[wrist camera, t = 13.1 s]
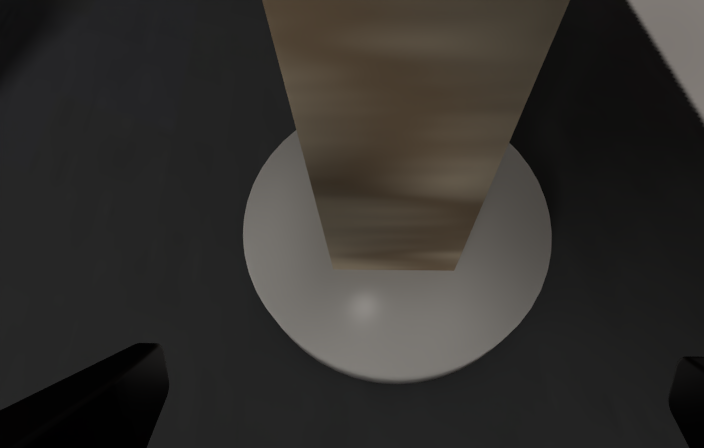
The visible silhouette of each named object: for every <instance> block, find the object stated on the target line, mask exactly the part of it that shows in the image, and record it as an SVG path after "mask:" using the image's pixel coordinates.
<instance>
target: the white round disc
mask: <svg viewBox="0 0 704 448" xmlns="http://www.w3.org/2000/svg"><path fill="white" fill-rule="evenodd" d="M551 239H552V232H551V223H550V215H549V211H548V207H547V204H546V200H545V197H544V194H543V192H542V190H541V187H540V185H539V182H538V180H537V179H536V177H535V175H534V173H533V172H532V170H531V168H530V167H529V165H528V164H527V162H526V161H525V160H524V159H523V157H522V156H521V155H520V153H519V152H518V151H517V150H516V149H515V148H514V147H513V146H512V145H511V144H510V143H509V144H508V146H507V148H506V151H505V153H504V155H503V158H502V160H501V163H500V165H499V167H498V170H497V172H496V174H495V177H494V179H493V181H492V184H491V186H490V188H489V191H488V193H487V195H486V198H485V200H484V202H483V205H482V207H481V209H480V212H479V214H478V216H477V219H476V221H475V223H474V226H473V228H472V230H471V233H470V235H469V237H468V240H467V242H466V244H465V247H464V249H463V251H462V254H461V256H460V258H459V261H458V263H457V265H456V268H455V270H454V271H440V270H340V269H333V266H332V262H331V259H330V255H329V251H328V247H327V243H326V240H325V236H324V232H323V228H322V224H321V221H320V217H319V213H318V209H317V206H316V202H315V198H314V194H313V190H312V187H311V183H310V179H309V175H308V171H307V168H306V164H305V160H304V156H303V152H302V149H301V145H300V141H299V137H298V133H297V130H296V131H295V132H293V133H292V134H291V135H290V136H289V137H288V138H287V139H286V140H284V141H283V142H282V143H281V144H280V145H279V147H278V148H277V149H276V150H275V151H274V152H273V153H272V154H271V156H270V157H269V159H268V160H267V162H266V163H265V164H264V166H263V167H262V169H261V171H260V173H259V174H258V176H257V178H256V180H255V182H254V184H253V187H252V190H251V193H250V196H249V198H248V201H247V206H246V211H245V216H244V228H243V242H244V253H245V258H246V263H247V267H248V271H249V274H250V277H251V279H252V282H253V284H254V287H255V289H256V291H257V293H258V295H259V297H260V298H261V300H262V302H263V304H264V305H265V307H266V309H267V310H268V311H269V312H270V314H271V315H272V316H273V317H274V319H275V320H276V321H277V323H278V324H279V325H280V326H281V327H282V329H283V330H284V331H285V332H286V333H287V335H288V336H289V337H290V338H291V339H292V340H293V341H294V342H295V343H296V344H297V345H298V346H299V347H300V348H301V349H302V350H303V351H304V352H306V353H307V354H309V355H310V356H311V357H313V358H314V359H316V360H317V361H318V362H320V363H322V364H323V365H325V366H327V367H329V368H331V369H333V370H335V371H337V372H339V373H342V374H345V375H347V376H350V377H353V378H355V379H360V380H364V381H369V382H374V383H383V384H395V385H397V384H414V383H420V382H425V381H430V380H435V379H439V378H441V377H444V376H447V375H450V374H453V373H455V372H457V371H459V370H461V369H463V368H465V367H467V366H469V365H471V364H473V363H474V362H475V361H477V360H478V359H480V358H481V357H482V356H484V355H485V354H487V353H488V352H489V351H490V350H491V349H493V348H494V347H495V346H496V345H497V344H498V343H500V342H501V341H502V340H503V339H504V338H505V337H506V336H507V335H508V334H509V333H510V332H511V331H512V330H514V329H515V328H516V327H517V326H518V325H519V323H520V322H521V321H522V319H523V318H524V317H525V315H526V314H527V313H528V312H529V310H530V309H531V307H532V306H533V304H534V302H535V300H536V298H537V296H538V294H539V293H540V291H541V288H542V285H543V283H544V280H545V277H546V274H547V271H548V266H549V261H550V255H551Z"/></svg>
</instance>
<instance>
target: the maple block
mask: <svg viewBox="0 0 704 448" xmlns="http://www.w3.org/2000/svg"><path fill="white" fill-rule="evenodd" d="M262 1H263V4H264V8H265V12H266V16H267V20H268V23H269V27H270V31H271V35H272V39H273V42H274V46H275V50H276V54H277V57H278V61H279V65H280V69H281V73H282V76H283V80H284V84H285V88H286V92H287V95H288V99H289V103H290V107H291V111H292V114H293V118H294V122H295V126H296V130H297V133H298V137H299V141H300V145H301V149H302V152H303V156H304V160H305V164H306V168H307V171H308V175H309V179H310V183H311V187H312V190H313V194H314V198H315V202H316V206H317V209H318V213H319V217H320V221H321V224H322V228H323V232H324V236H325V240H326V243H327V247H328V251H329V255H330V259H331V262H332V266H333V269H340V270H440V271H454V270H455V268H456V265H457V263H458V261H459V258H460V256H461V254H462V251H463V249H464V247H465V244H466V242H467V240H468V237H469V235H470V233H471V230H472V228H473V226H474V223H475V221H476V219H477V216H478V214H479V212H480V209H481V207H482V205H483V202H484V200H485V198H486V195H487V193H488V191H489V188H490V186H491V184H492V181H493V179H494V177H495V174H496V172H497V170H498V167H499V165H500V163H501V160H502V158H503V155H504V153H505V151H506V148H507V146H508V144H509V141H510V139H511V137H512V134H513V132H514V130H515V127H516V125H517V123H518V120H519V118H520V116H521V113H522V111H523V109H524V106H525V104H526V102H527V99H528V97H529V95H530V92H531V90H532V88H533V85H534V83H535V81H536V78H537V76H538V74H539V71H540V69H541V67H542V64H543V62H544V60H545V57H546V55H547V53H548V50H549V48H550V46H551V43H552V41H553V39H554V36H555V34H556V32H557V29H558V27H559V25H560V22H561V20H562V18H563V15H564V13H565V11H566V8H567V6H568V4H569V1H570V0H262Z"/></svg>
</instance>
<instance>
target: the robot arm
mask: <svg viewBox="0 0 704 448" xmlns="http://www.w3.org/2000/svg"><path fill="white" fill-rule="evenodd" d="M168 390H169V379H168V373H167V367H166V361H165V355H164V351H163V348H162V346H161V345H159V344H157V343H137V344H135V345H132V346H130V347H128V348H126V349H124V350H122V351H120V352H118V353H116V354H114V355H112V356H110V357H108V358H106V359H104V360H102V361H100V362H98V363H96V364H94V365H92V366H90V367H88V368H86V369H84V370H82V371H80V372H78V373H76V374H73V375H71V376H69V377H67V378H65V379H63V380H61V381H59V382H57V383H55V384H53V385H51V386H49V387H47V388H45V389H43V390H41V391H39V392H37V393H35V394H33V395H31V396H29V397H27V398H25V399H23V400H21V401H19V402H17V403H15V404H12V405H10V406H8V407H6V408H4V409H2V410H0V448H147V445H148V443H149V440H150V438H151V435H152V433H153V430H154V427H155V425H156V422H157V420H158V417H159V415H160V412H161V410H162V407H163V405H164V402H165V400H166V397H167V394H168ZM669 407H670V410H671V412H672V415H673V417H674V419H675V420H676V422H677V424H678V426H679V428H680V430H681V432H682V434H683V436H684V438H685V440H686V442H687V444H688V446H689V448H704V357H683V358H681V359H680V360H679V361H678V363H677V365H676V369H675V373H674V377H673V381H672V385H671V389H670V393H669Z"/></svg>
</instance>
